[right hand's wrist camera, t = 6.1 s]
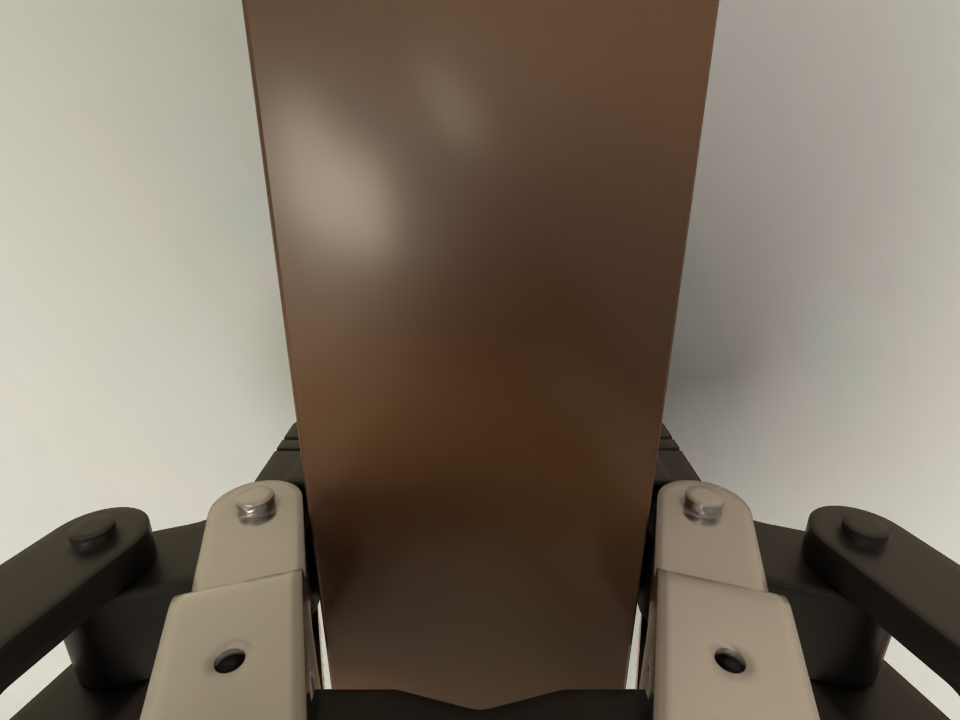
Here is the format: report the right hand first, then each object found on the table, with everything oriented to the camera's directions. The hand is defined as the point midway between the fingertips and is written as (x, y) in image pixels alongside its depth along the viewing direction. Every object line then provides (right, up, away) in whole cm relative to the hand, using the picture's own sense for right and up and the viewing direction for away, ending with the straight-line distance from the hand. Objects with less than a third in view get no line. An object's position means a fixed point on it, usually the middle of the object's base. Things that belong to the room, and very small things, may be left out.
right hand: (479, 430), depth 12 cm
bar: (0, -16, +9) cm, 19 cm away
